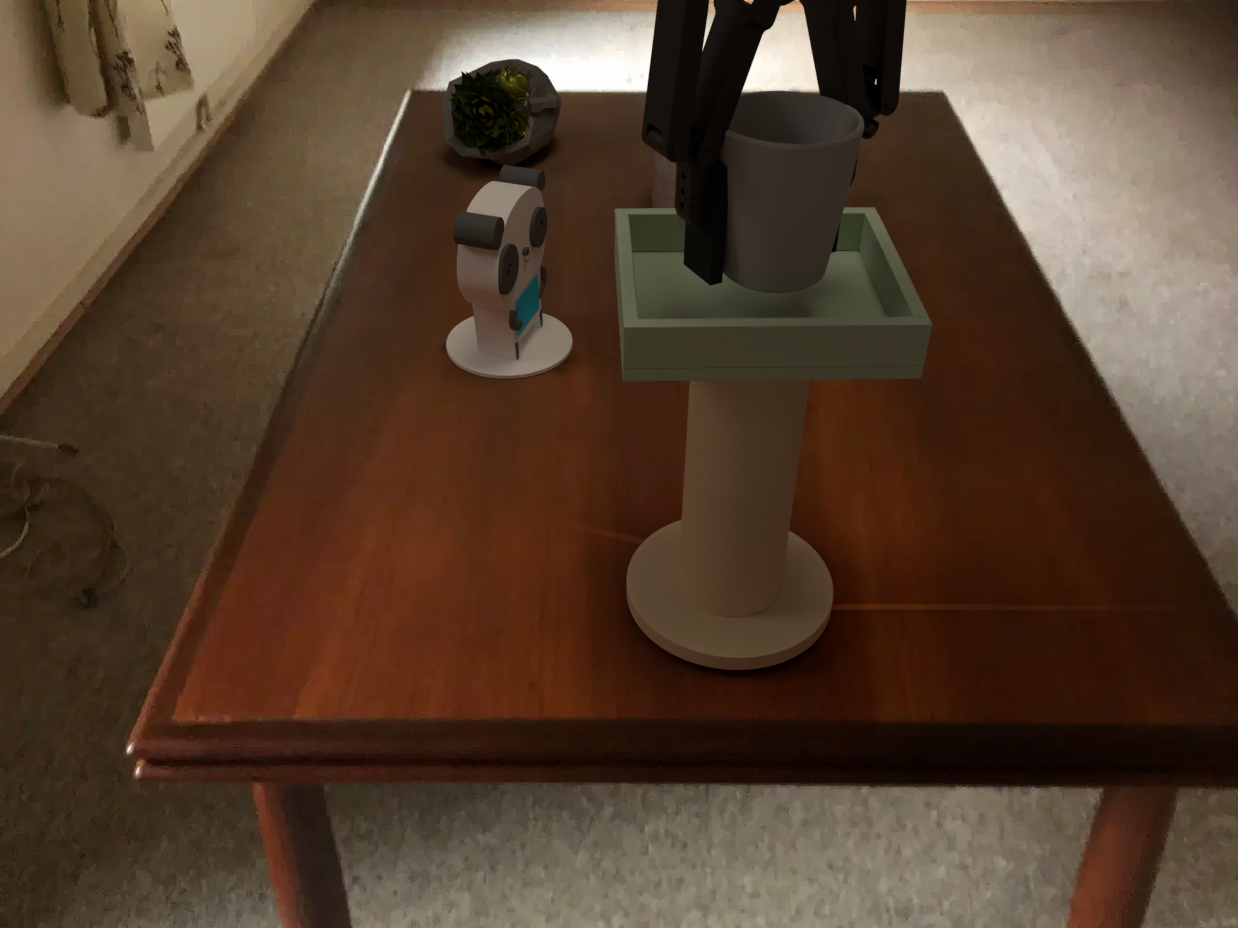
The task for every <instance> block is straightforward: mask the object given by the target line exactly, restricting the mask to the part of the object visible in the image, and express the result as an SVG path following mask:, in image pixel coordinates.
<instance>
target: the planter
mask: <svg viewBox="0 0 1238 928" xmlns="http://www.w3.org/2000/svg"><path fill="white" fill-rule="evenodd" d="M676 165H677V164H676V163H674V162H671V161H669V160H668V159H667V158H665V157H663V156H662V155H660V154H659V153H658V152H656V151H655V150H653V165H652V181H651V201H650V202H651V208H675V197H676V196H675V190H676V188H675V187H676Z"/></svg>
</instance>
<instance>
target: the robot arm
mask: <svg viewBox="0 0 1238 928" xmlns="http://www.w3.org/2000/svg"><path fill="white" fill-rule="evenodd" d="M795 1H796V0H752V2H751V3H750V2H748V1H746V0H713V1H712V3H713V7H714V12H715V13H714V16H713V19H712V22H711V25H710V28H709V31H708V34H707V36H706V28H707V22H708V15H709V9H710V7H709V6H710V0H657V1H656V11H655V19H654V26H653V36H652V45H651V51H650V59H649V68H648V77H647V84H646V85H647V86H646V94H645V101H644V110H643V117H642V118H643V119H642V126H641V127H642V128H641V135H640V136H641V140H642V142H643V143H644V144H645V145H646V146H648V147H649V148H650V149H652V150H653V151H654V150H655V151H656V152H658V153H659V154H660V155H662V156H663V157H665V158H667V159H668V160H669V161H671V162H674V163H676V164H677V165H676V187H675V188H676V190H675V196H676V197H675V210H676V212H677V215H678V216H679V217H681V218H682V219H683V220H685V221H686V224H685V243H684V262H683V264H684V265H685V266H686V267H687V268H689V269H690V270H691V271H692V272H694V273H695V274H696V275H697V276H699V277H700V278H701V279H702V280H704V281H705V282H706V283H707V284H709V285H710V286H712V285H715V284H719V283H722V279H723V266H724V253H725V240H726V227H727V214H728V171H727V166H725V165H724V164H723V163H721V162H720V161H719V160H718V156H719V153H720V151H721V148H722V145H723V142H724V140H725V133H726V131H727V130H728V129H729V126H730V123H731V120H732V118H733V115H734V112H735V109H736V107H737V104H738V101H739V98H740V96H741V94H743V90H744V87H745V85H746V83H747V79H748V76H749V74H750V71H751V68H752V65H753V62H754V59H755V56H756V54H757V52H758V49H759V46H760V43H761V41H762V37H763V35H764V33H765V32H767V31H769V30H770V29H771V28H772V27H773V26H774V24H775V22H776V20H777V17H778V13H779V11H780V9H781V7H784V6H786V5H789V4H791V3H793V2H795ZM798 2H799V3H800V4H801V5H802V7H803V11H804V17H805V22H806V29H807V34H808V38H809V44H810V49H811V55H812V59H813V65H814V71H815V77H816V81H817V87H818V93H819V95H821V96H825V97H829V98H833V99H835V100H838V101H840V102H843V103H845V104H847V105H849V106H851V107H852V108H854V109H856V110H857V111H858V113H859V114H860V115H861V116H862V118H863V121H864V131H863V135H862V139H864V140H870V139H872V138H873V137H874V136H875V135H876V134H877V132H878V131H879V128H880V121H878V120H876V118H877V117H879V116H880V115H882V116H884V117H889V116H891V115H892V114H894V113H895V111H897V108H898V106H899V101H900V89H901V77H902V65H903V52H904V42H905V41H904V39H905V28H906V17H907V16H906V15H907V14H906V13H907V2H908V0H798ZM854 9H855V11H854ZM705 36H706V40H705ZM704 42H705V43H704ZM859 153H860V150H859V151H858V155H857V159H856V163H855V167H854V171H853V175H852V179H851V183H850V187H851V186H852V184H853V182H854V180H855V177H856V173H857V165H858V159H859ZM850 187H849V188H850ZM840 221H841V220H840ZM839 228H840V224H839V227H838V231H837V234H836V237H835V241H834V244H833V248H832V251H831V253H833V252H836V249H837V242H838V235H839Z"/></svg>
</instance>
